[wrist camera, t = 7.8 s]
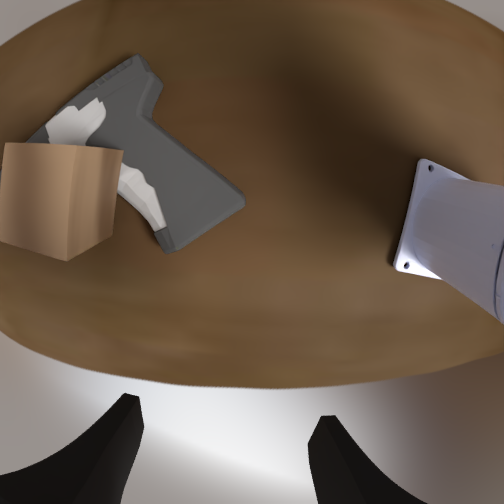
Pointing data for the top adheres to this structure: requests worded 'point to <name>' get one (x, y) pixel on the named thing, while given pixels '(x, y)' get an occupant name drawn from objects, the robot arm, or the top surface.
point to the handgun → (145, 155)
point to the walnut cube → (58, 197)
